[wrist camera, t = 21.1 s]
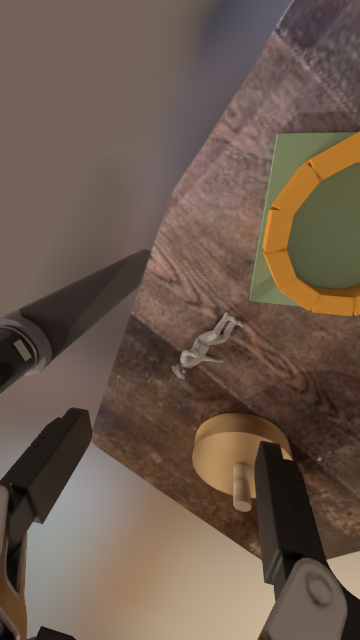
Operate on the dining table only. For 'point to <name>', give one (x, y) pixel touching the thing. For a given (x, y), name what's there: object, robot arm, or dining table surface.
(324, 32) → the dining table surface
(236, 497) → the ring stand
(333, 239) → the mat
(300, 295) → the ring
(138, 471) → the dining table surface
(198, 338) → the soldier figure
